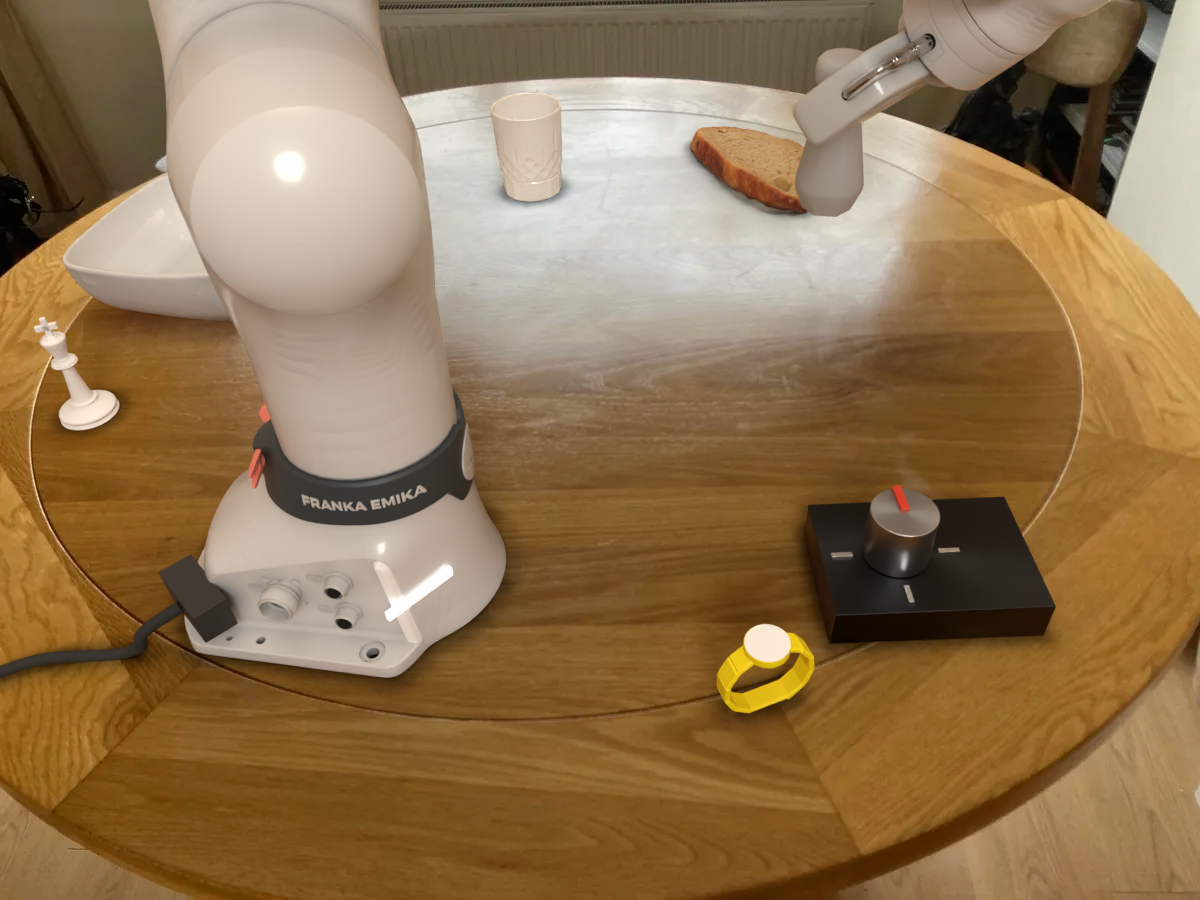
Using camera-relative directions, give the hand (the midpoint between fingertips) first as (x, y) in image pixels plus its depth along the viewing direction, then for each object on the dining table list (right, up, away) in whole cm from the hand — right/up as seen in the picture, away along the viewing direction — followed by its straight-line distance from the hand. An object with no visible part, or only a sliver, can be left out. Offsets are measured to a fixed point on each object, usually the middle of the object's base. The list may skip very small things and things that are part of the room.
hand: (830, 121), depth 79 cm
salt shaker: (+1, -6, +5) cm, 8 cm away
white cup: (-27, +4, +35) cm, 44 cm away
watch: (-9, -43, -18) cm, 47 cm away
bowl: (-59, -10, +22) cm, 64 cm away
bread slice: (-1, +5, +35) cm, 36 cm away
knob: (+1, -34, -14) cm, 37 cm away
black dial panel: (+3, -36, -12) cm, 38 cm away
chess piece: (-64, -24, +6) cm, 69 cm away
